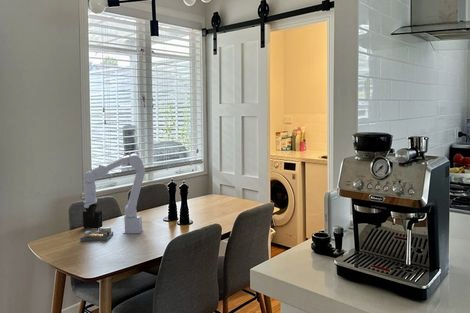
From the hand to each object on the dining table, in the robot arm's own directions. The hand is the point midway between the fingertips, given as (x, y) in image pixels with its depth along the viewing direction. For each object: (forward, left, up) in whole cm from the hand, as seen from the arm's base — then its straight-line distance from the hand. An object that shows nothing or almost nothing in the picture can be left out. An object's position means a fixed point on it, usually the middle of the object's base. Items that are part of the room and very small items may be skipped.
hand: (91, 217), depth 223 cm
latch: (0, +8, -8) cm, 11 cm away
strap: (-5, +9, -8) cm, 13 cm away
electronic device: (+5, -15, -10) cm, 19 cm away
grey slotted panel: (-5, +6, -10) cm, 12 cm away
